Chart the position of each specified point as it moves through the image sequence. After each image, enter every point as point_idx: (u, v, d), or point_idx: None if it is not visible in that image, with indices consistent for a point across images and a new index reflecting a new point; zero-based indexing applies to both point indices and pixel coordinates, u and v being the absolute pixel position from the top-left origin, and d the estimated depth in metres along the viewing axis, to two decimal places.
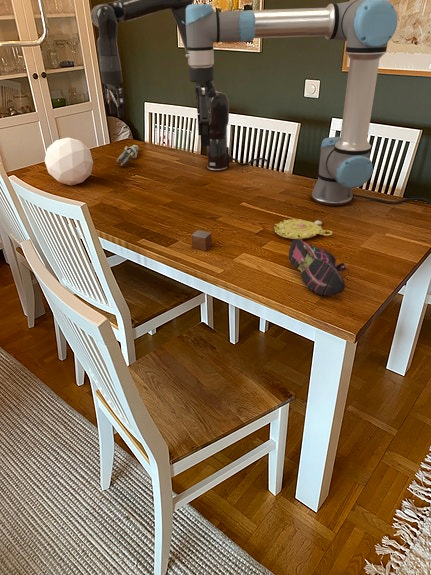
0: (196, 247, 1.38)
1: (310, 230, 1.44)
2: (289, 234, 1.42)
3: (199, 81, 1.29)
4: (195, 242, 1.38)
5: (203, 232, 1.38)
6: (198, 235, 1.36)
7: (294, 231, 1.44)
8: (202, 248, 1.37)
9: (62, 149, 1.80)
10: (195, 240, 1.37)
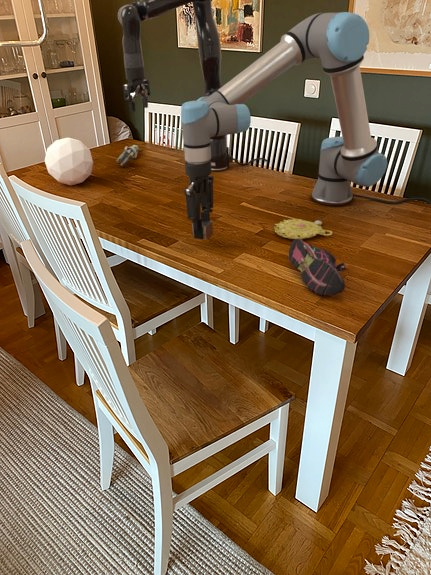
0: None
1: (310, 230, 1.44)
2: (289, 234, 1.42)
3: (189, 176, 1.25)
4: None
5: (204, 221, 1.36)
6: None
7: (294, 231, 1.44)
8: (203, 237, 1.35)
9: (62, 149, 1.80)
10: None
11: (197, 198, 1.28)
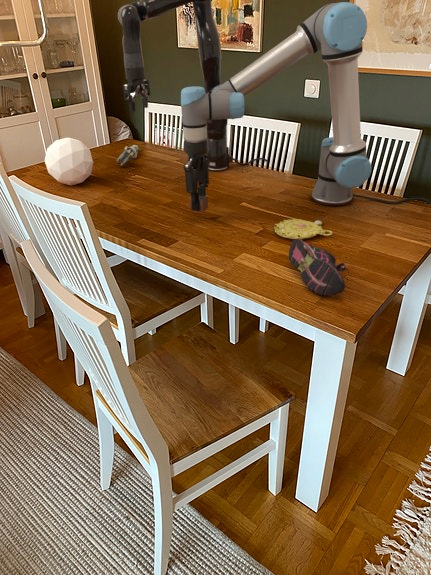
0: None
1: (310, 230, 1.44)
2: (289, 234, 1.42)
3: (188, 153, 1.42)
4: None
5: (200, 195, 1.53)
6: None
7: (294, 231, 1.44)
8: None
9: (62, 149, 1.80)
10: None
11: (195, 173, 1.45)
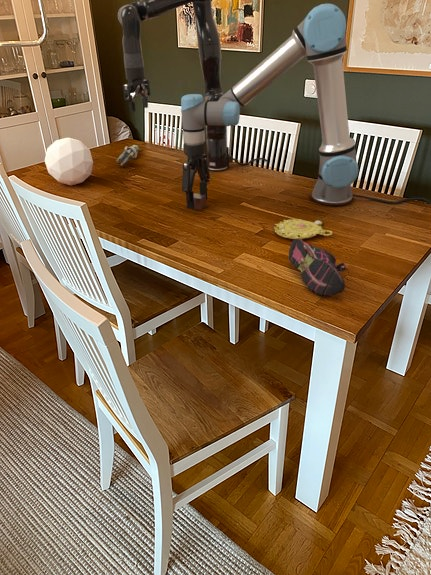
0: None
1: (310, 230, 1.44)
2: (289, 234, 1.42)
3: (187, 155, 1.54)
4: None
5: (199, 195, 1.66)
6: (194, 197, 1.64)
7: (294, 231, 1.44)
8: (198, 208, 1.65)
9: (62, 149, 1.80)
10: None
11: (192, 173, 1.57)
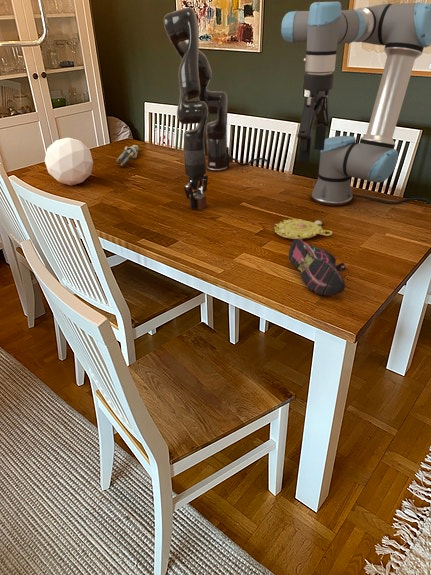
0: None
1: (310, 230, 1.44)
2: (289, 234, 1.42)
3: (310, 89, 1.13)
4: None
5: (199, 194, 1.66)
6: None
7: (294, 231, 1.44)
8: (198, 208, 1.65)
9: (62, 149, 1.80)
10: None
11: (313, 113, 1.15)
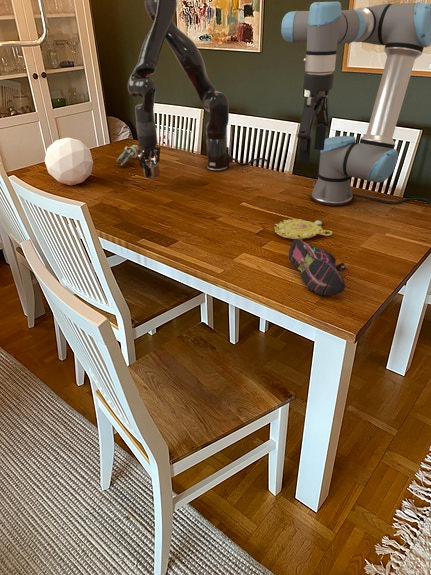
0: None
1: (310, 230, 1.44)
2: (289, 234, 1.42)
3: (310, 89, 1.13)
4: None
5: (152, 164, 1.82)
6: None
7: (294, 231, 1.44)
8: (151, 176, 1.81)
9: (62, 149, 1.80)
10: None
11: (313, 113, 1.15)
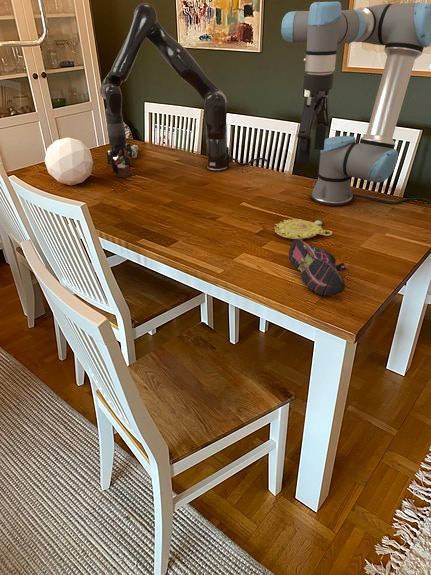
0: (118, 175, 2.00)
1: (310, 230, 1.44)
2: (289, 234, 1.42)
3: (310, 89, 1.13)
4: None
5: (123, 165, 1.99)
6: (119, 166, 1.98)
7: (294, 231, 1.44)
8: (122, 176, 1.99)
9: (62, 149, 1.80)
10: None
11: (313, 113, 1.15)
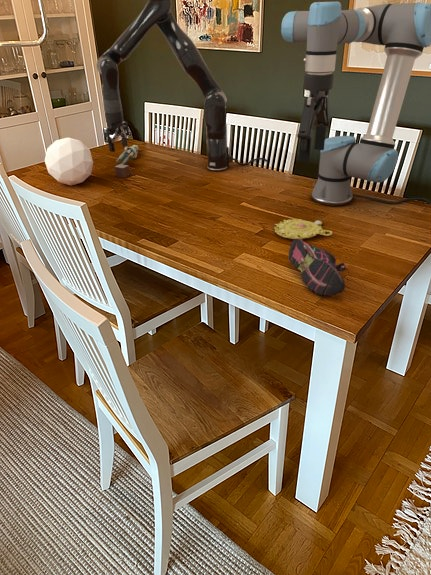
0: (118, 175, 2.00)
1: (310, 230, 1.44)
2: (289, 234, 1.42)
3: (310, 89, 1.13)
4: (117, 172, 1.99)
5: (123, 165, 1.99)
6: (119, 166, 1.98)
7: (294, 231, 1.44)
8: (122, 176, 1.99)
9: (62, 149, 1.80)
10: (117, 170, 1.99)
11: (313, 113, 1.15)
